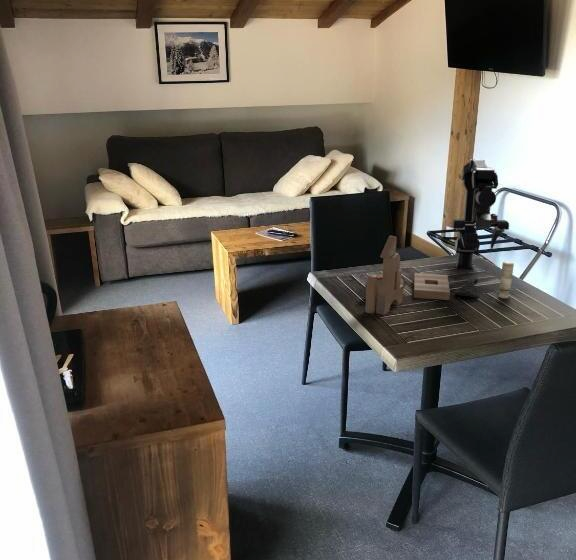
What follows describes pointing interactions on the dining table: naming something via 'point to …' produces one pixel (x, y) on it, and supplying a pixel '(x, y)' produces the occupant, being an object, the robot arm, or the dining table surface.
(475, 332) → the dining table surface
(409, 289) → the dining table surface
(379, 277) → the tin
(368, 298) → the wooden toy
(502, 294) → the cream ridged cylinder
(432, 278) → the brown box
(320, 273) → the dining table surface
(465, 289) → the hairbrush
